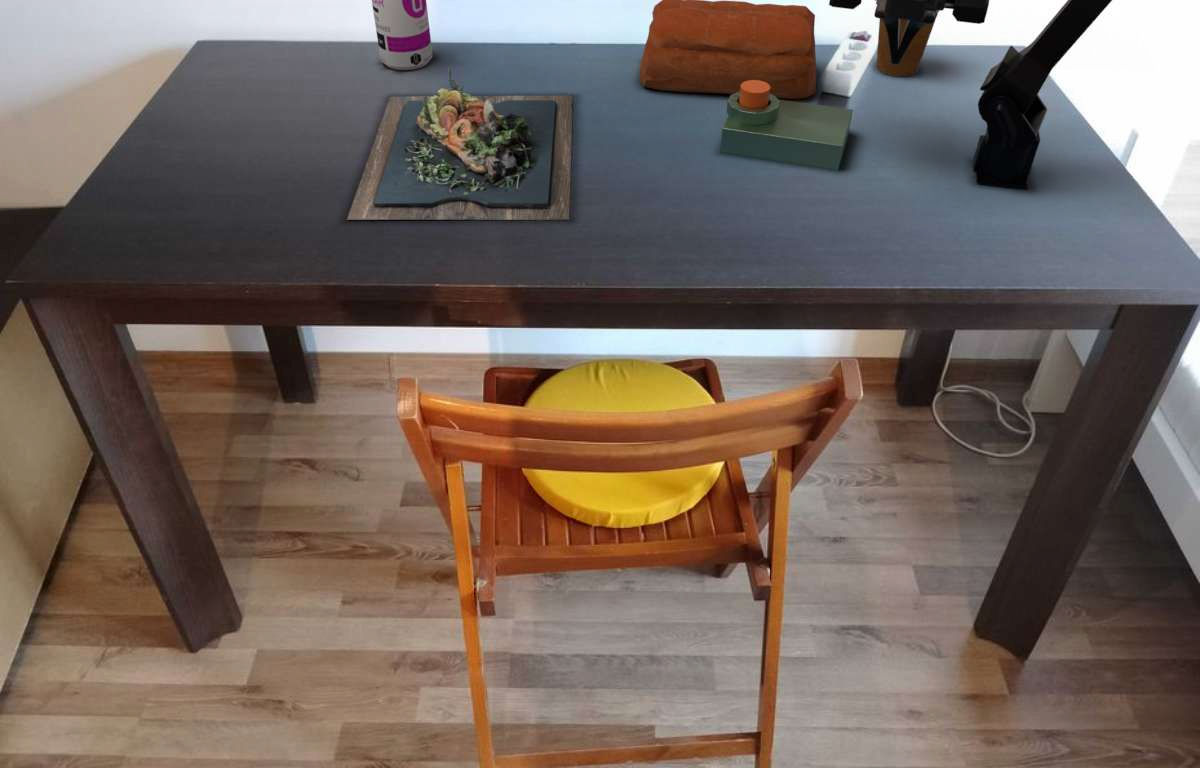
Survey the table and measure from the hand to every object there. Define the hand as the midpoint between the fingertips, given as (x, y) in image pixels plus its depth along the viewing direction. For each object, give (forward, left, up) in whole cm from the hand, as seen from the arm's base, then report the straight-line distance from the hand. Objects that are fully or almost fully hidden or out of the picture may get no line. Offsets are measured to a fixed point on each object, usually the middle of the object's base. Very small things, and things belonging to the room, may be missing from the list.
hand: (895, 63), depth 127 cm
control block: (+12, +2, -12) cm, 17 cm away
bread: (+23, -17, -12) cm, 32 cm away
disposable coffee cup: (-2, -27, -12) cm, 30 cm away
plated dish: (+54, +15, -12) cm, 57 cm away
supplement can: (+74, -11, -12) cm, 76 cm away
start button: (+17, +2, -7) cm, 19 cm away
